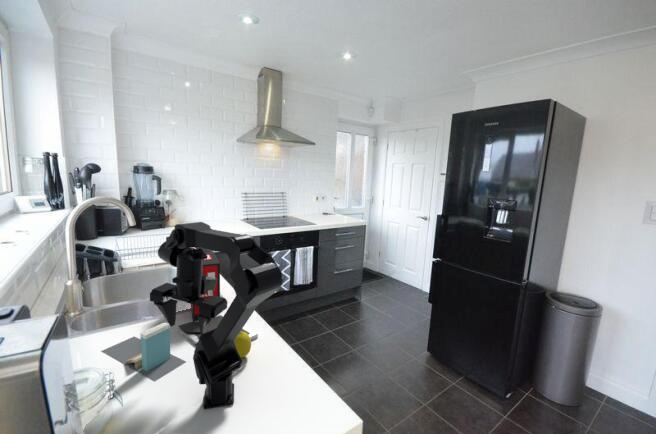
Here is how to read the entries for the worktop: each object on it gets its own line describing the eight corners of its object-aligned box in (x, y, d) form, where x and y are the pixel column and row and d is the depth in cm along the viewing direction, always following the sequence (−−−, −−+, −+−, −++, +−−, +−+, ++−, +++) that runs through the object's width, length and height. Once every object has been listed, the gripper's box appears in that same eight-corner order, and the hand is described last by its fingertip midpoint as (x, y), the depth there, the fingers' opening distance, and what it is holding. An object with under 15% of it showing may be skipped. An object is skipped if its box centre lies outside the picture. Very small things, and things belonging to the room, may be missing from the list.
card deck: (170, 358, 82) (169, 324, 80) (146, 371, 76) (145, 335, 74) (165, 355, 82) (164, 322, 81) (141, 369, 77) (140, 333, 75)
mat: (186, 363, 80) (186, 361, 80) (154, 382, 72) (154, 381, 72) (134, 337, 91) (134, 336, 91) (101, 352, 83) (101, 351, 83)
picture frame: (178, 334, 96) (212, 361, 83) (178, 325, 95) (212, 352, 82) (222, 317, 108) (257, 339, 95) (222, 310, 107) (257, 331, 94)
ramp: (166, 354, 84) (165, 344, 83) (137, 370, 76) (136, 359, 76) (154, 349, 86) (154, 339, 85) (125, 364, 79) (125, 353, 78)
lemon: (227, 357, 84) (227, 331, 82) (244, 350, 88) (244, 324, 87) (237, 366, 80) (237, 339, 79) (254, 358, 84) (255, 332, 83)
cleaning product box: (220, 316, 107) (219, 263, 104) (193, 321, 103) (192, 265, 100) (213, 298, 121) (213, 251, 119) (190, 302, 117) (189, 253, 114)
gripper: (241, 269, 78) (237, 323, 81) (181, 256, 82) (180, 307, 85) (214, 285, 67) (211, 346, 70) (148, 268, 72) (147, 326, 75)
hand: (187, 330), depth 75 cm, fingers open, 9 cm apart
